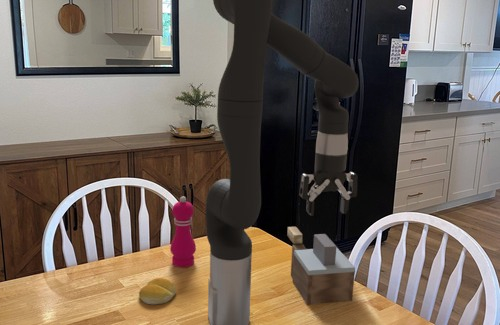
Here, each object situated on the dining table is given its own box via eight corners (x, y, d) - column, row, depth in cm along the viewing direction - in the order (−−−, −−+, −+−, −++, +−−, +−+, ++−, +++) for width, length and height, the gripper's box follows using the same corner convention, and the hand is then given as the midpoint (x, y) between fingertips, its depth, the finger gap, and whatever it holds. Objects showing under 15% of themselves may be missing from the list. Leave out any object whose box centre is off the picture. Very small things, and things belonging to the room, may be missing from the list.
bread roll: (133, 302, 121) (132, 287, 120) (153, 285, 129) (153, 271, 128) (162, 309, 118) (162, 294, 117) (181, 292, 126) (181, 278, 125)
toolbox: (306, 304, 121) (308, 270, 119) (288, 275, 136) (290, 244, 134) (352, 300, 124) (355, 267, 122) (329, 272, 139) (332, 242, 136)
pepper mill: (191, 269, 138) (191, 201, 133) (166, 266, 139) (166, 199, 134) (198, 258, 145) (199, 193, 140) (175, 255, 146) (175, 191, 141)
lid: (308, 278, 120) (310, 251, 118) (293, 257, 131) (295, 232, 129) (354, 275, 122) (356, 248, 120) (336, 255, 134) (338, 230, 132)
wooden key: (293, 243, 134) (294, 235, 133) (287, 235, 140) (287, 227, 139) (301, 243, 134) (302, 234, 134) (295, 234, 140) (295, 226, 139)
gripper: (352, 146, 124) (347, 207, 128) (298, 147, 121) (295, 209, 125) (365, 153, 117) (359, 217, 121) (308, 154, 114) (304, 220, 118)
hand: (326, 213), depth 123 cm, fingers open, 8 cm apart
